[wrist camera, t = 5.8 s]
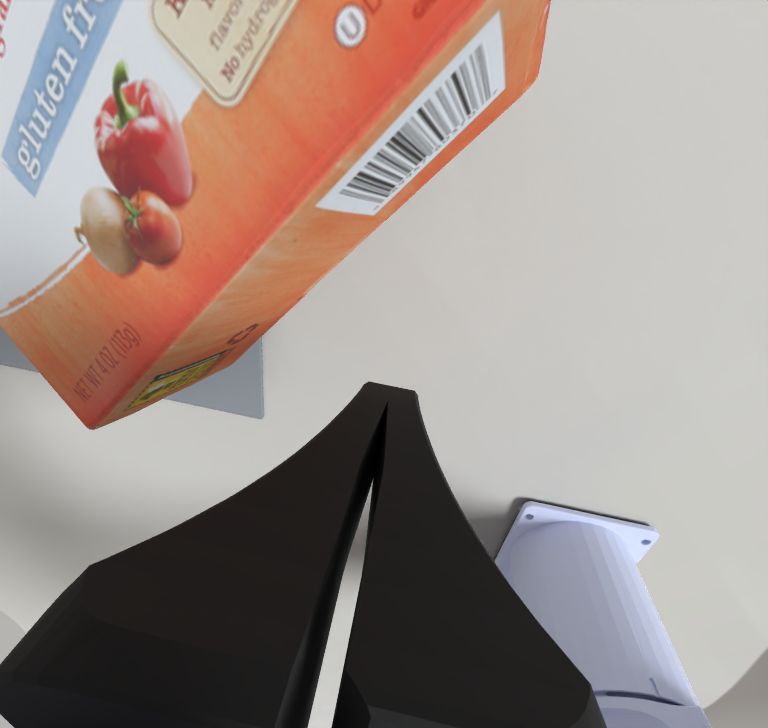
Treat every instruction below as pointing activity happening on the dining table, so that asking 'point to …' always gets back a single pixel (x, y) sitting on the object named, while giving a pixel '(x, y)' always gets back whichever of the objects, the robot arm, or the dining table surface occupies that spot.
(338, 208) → the cracker box
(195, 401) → the mat
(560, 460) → the dining table surface
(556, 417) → the dining table surface
